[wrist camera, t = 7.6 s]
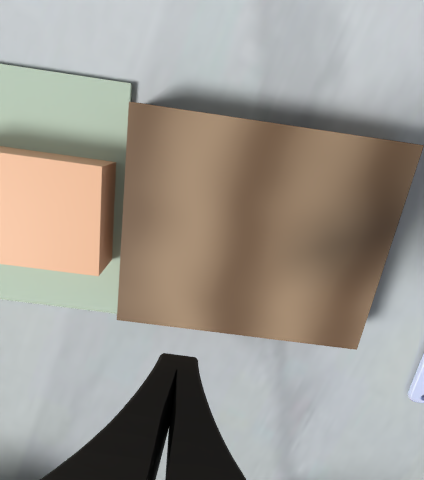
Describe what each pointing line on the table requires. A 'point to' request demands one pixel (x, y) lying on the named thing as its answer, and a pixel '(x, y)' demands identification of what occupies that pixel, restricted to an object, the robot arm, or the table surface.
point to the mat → (73, 144)
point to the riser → (256, 225)
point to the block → (56, 211)
